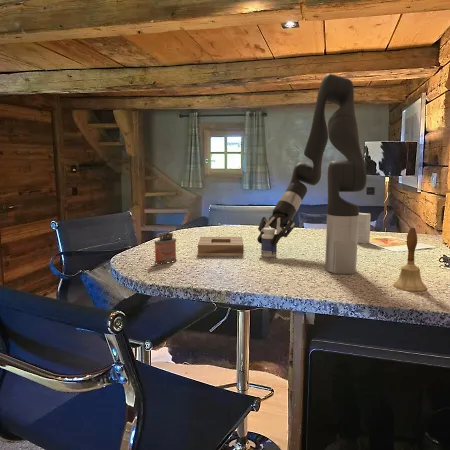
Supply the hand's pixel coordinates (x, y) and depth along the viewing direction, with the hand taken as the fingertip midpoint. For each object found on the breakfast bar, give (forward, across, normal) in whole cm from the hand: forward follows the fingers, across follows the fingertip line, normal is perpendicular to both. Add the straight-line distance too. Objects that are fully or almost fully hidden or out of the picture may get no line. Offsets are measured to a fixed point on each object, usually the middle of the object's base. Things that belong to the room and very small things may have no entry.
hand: (265, 243), depth 149 cm
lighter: (+25, -18, -18) cm, 35 cm away
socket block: (+7, -17, 0) cm, 18 cm away
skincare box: (-30, +11, +37) cm, 49 cm away
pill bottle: (+2, 0, +5) cm, 5 cm away
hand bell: (+4, +50, +3) cm, 50 cm away
